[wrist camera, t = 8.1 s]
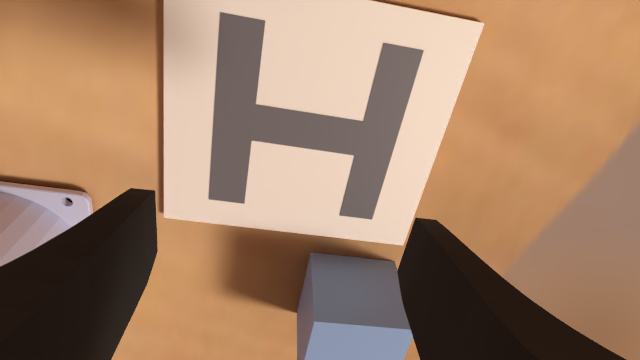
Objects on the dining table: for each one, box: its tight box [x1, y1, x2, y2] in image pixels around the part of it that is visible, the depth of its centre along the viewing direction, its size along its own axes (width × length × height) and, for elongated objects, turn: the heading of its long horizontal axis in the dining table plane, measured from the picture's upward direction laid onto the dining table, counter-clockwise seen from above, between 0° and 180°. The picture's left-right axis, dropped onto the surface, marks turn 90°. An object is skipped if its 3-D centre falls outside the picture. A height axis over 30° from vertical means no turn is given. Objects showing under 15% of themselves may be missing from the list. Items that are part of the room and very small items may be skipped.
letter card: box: [164, 0, 484, 245], centre depth 19 cm, size 13×12×1 cm
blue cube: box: [297, 252, 413, 360], centre depth 23 cm, size 5×5×5 cm
